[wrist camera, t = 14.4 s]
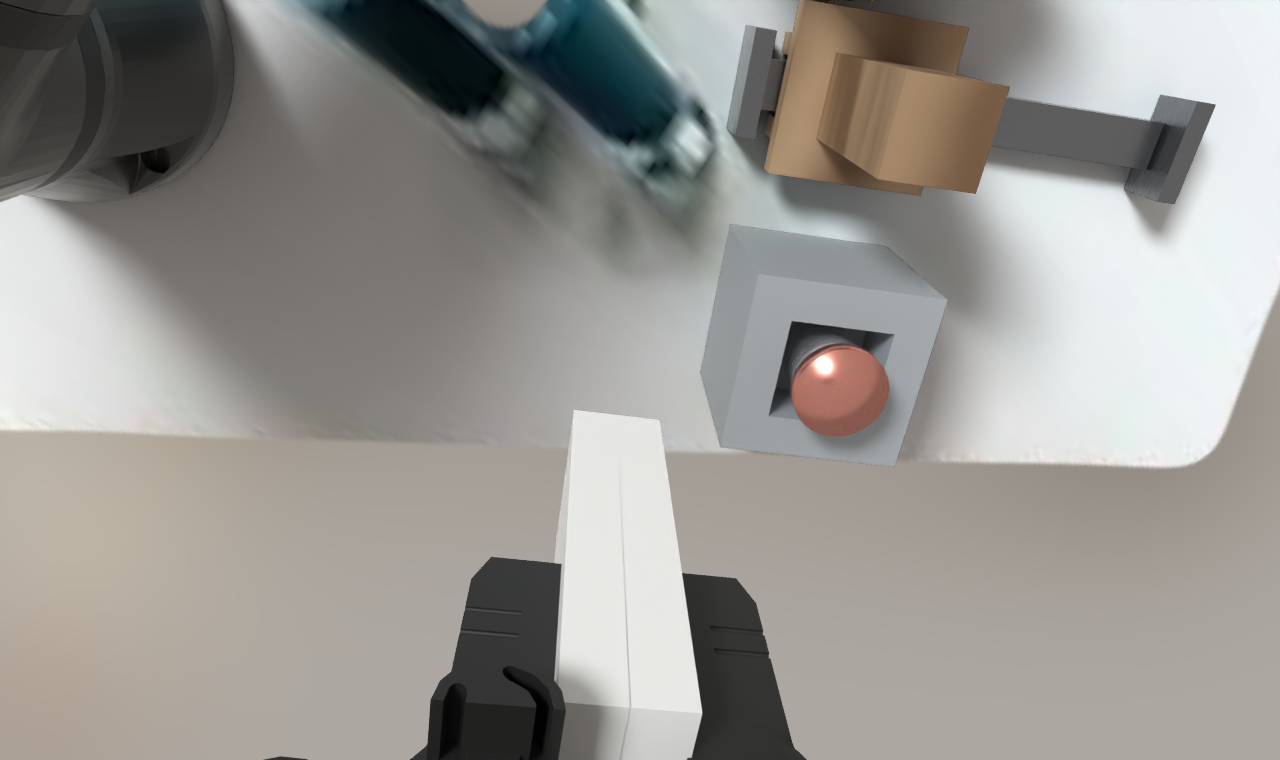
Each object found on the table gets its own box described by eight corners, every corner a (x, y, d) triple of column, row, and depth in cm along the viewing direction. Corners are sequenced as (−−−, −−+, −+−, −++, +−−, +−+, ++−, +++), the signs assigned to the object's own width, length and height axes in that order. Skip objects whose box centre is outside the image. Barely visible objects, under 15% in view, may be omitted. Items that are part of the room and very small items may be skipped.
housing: (700, 372, 50) (720, 447, 42) (730, 224, 46) (758, 274, 38) (846, 390, 51) (894, 467, 43) (887, 246, 47) (948, 299, 39)
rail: (726, 127, 44) (735, 136, 41) (745, 25, 42) (756, 27, 39) (1140, 191, 46) (1174, 204, 44) (1177, 97, 44) (1215, 104, 42)
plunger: (765, 386, 43) (784, 431, 39) (784, 307, 42) (806, 343, 37) (847, 397, 44) (874, 441, 40) (869, 318, 42) (900, 356, 38)
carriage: (758, 162, 45) (814, 222, 33) (792, -1, 41) (868, 1, 30) (902, 184, 45) (1007, 250, 34) (947, 25, 42) (1079, 38, 31)
